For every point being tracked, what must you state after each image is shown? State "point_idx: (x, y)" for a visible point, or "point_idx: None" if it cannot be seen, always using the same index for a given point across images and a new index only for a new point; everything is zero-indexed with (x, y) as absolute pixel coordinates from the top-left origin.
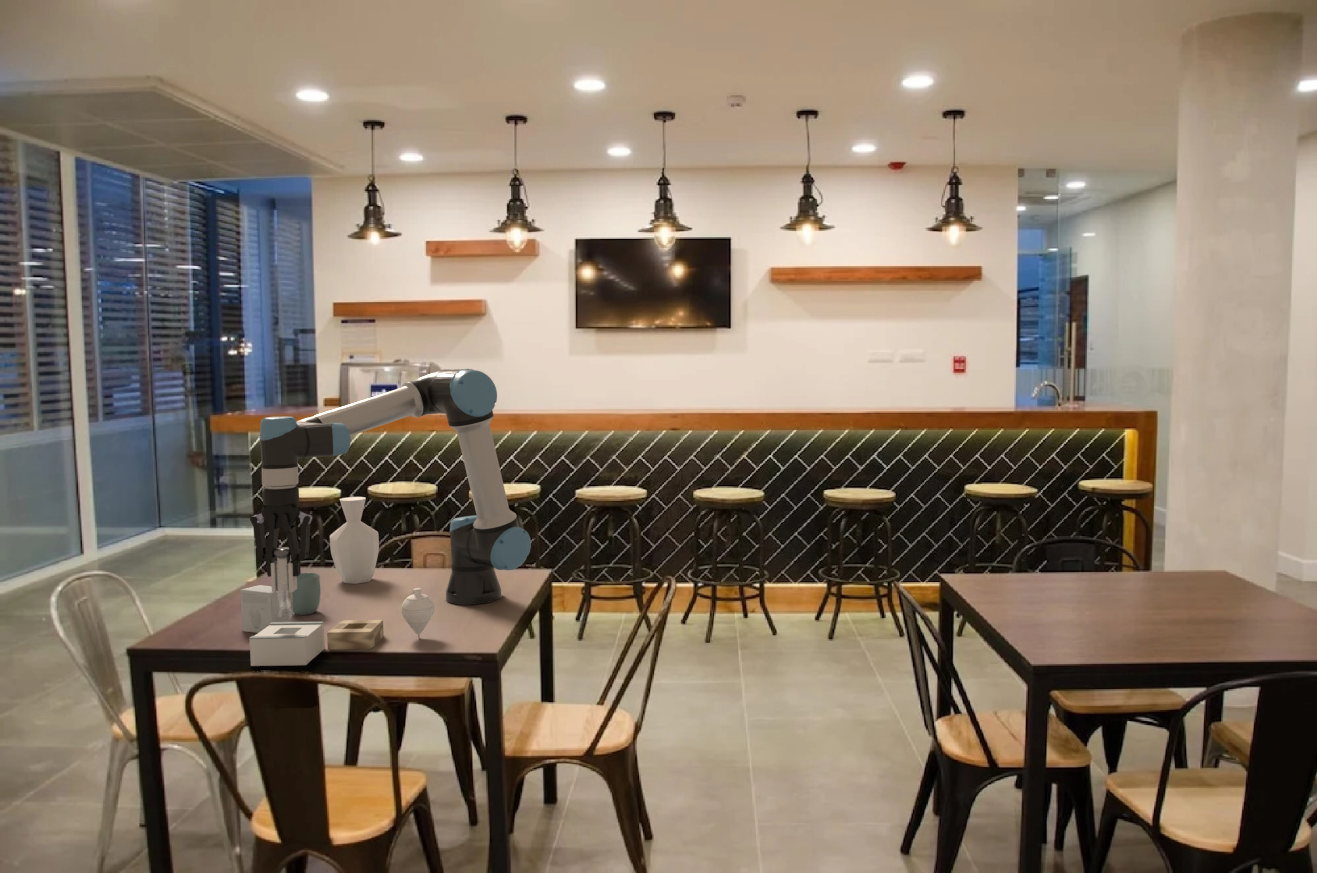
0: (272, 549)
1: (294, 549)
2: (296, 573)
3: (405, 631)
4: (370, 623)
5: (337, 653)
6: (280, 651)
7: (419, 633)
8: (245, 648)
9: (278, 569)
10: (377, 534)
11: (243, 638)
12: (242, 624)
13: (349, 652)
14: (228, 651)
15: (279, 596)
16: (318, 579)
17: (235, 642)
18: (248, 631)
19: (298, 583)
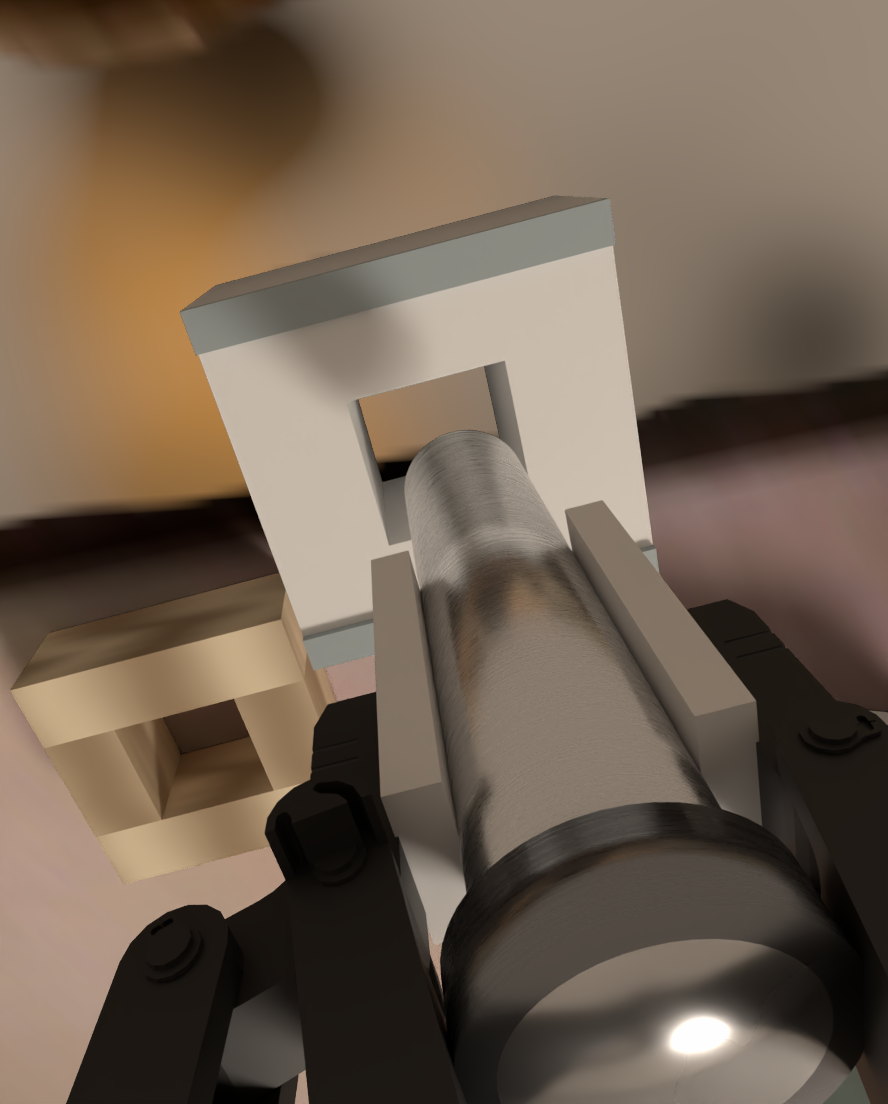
0: (872, 946)
1: (319, 1080)
2: (339, 726)
3: (90, 892)
4: (143, 816)
5: (183, 524)
6: (369, 252)
7: None
8: (766, 485)
9: (580, 659)
10: None
11: (860, 623)
12: None
13: (126, 554)
14: (836, 419)
15: (504, 495)
16: None
17: (871, 560)
18: (884, 712)
19: (831, 1095)
